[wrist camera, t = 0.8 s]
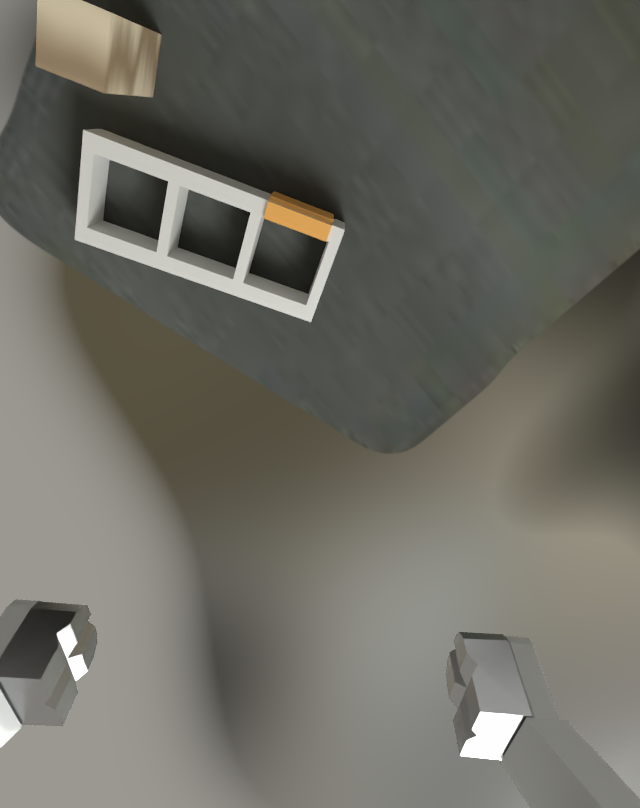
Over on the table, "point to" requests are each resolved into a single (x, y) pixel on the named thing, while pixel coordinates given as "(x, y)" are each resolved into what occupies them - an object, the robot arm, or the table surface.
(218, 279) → the rack
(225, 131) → the table surface
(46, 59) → the wooden block
